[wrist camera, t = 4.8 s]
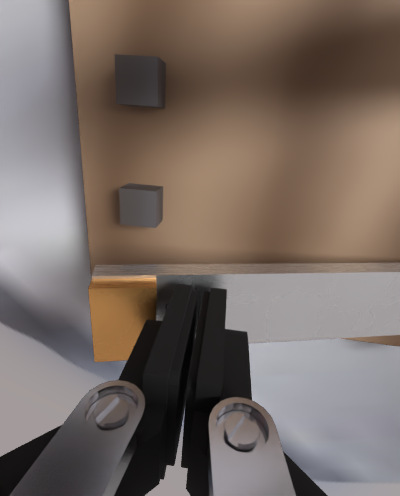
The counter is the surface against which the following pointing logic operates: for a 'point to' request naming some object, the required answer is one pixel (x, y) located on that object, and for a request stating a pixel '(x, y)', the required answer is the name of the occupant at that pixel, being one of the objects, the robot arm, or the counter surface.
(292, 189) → the latch board
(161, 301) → the strap
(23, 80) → the counter surface
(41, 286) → the counter surface
